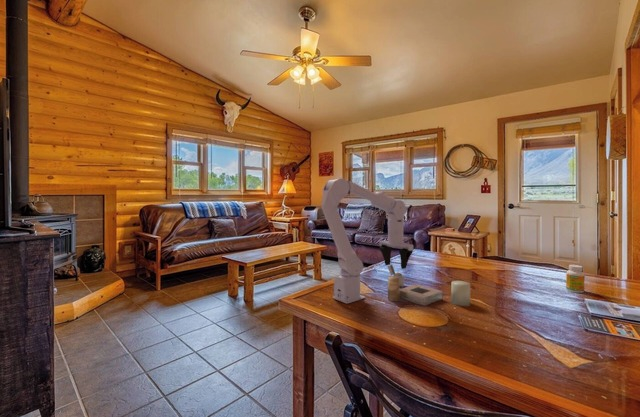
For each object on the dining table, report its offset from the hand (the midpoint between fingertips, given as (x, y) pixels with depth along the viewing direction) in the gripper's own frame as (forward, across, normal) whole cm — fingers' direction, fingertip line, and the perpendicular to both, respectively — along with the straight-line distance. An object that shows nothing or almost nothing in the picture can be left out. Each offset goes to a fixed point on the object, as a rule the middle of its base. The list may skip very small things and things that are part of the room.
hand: (395, 266), depth 118 cm
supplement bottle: (+10, -43, -54) cm, 70 cm away
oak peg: (+10, -4, +7) cm, 13 cm away
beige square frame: (+10, -10, -1) cm, 14 cm away
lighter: (+10, +6, -8) cm, 15 cm away
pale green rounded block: (+10, -22, -8) cm, 25 cm away
